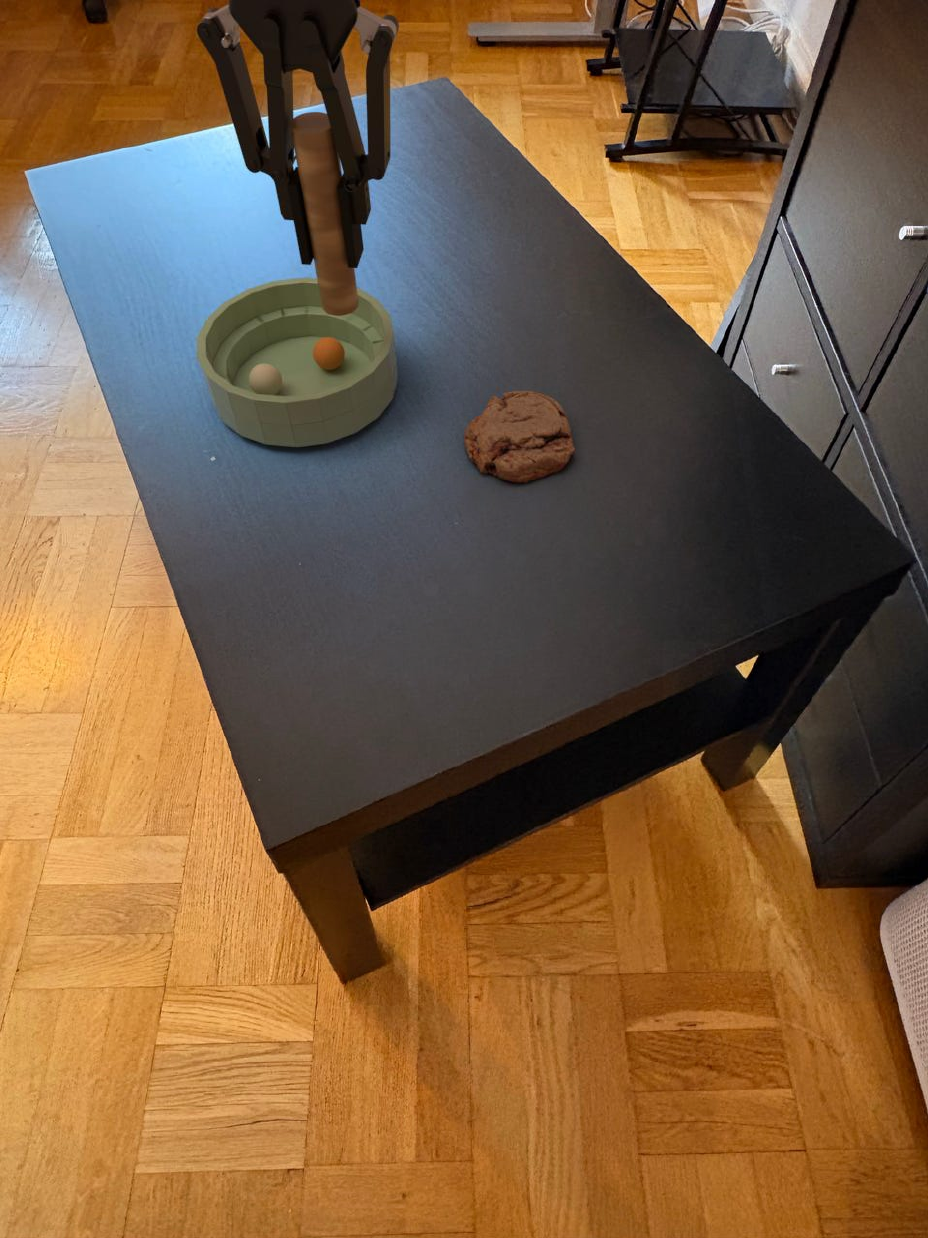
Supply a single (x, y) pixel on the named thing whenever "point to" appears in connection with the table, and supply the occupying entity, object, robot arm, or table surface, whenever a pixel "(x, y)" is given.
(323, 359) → the orange ball
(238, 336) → the bowl
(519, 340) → the table surface
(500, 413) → the cookie
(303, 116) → the stick
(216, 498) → the table surface
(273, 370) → the cream ball
